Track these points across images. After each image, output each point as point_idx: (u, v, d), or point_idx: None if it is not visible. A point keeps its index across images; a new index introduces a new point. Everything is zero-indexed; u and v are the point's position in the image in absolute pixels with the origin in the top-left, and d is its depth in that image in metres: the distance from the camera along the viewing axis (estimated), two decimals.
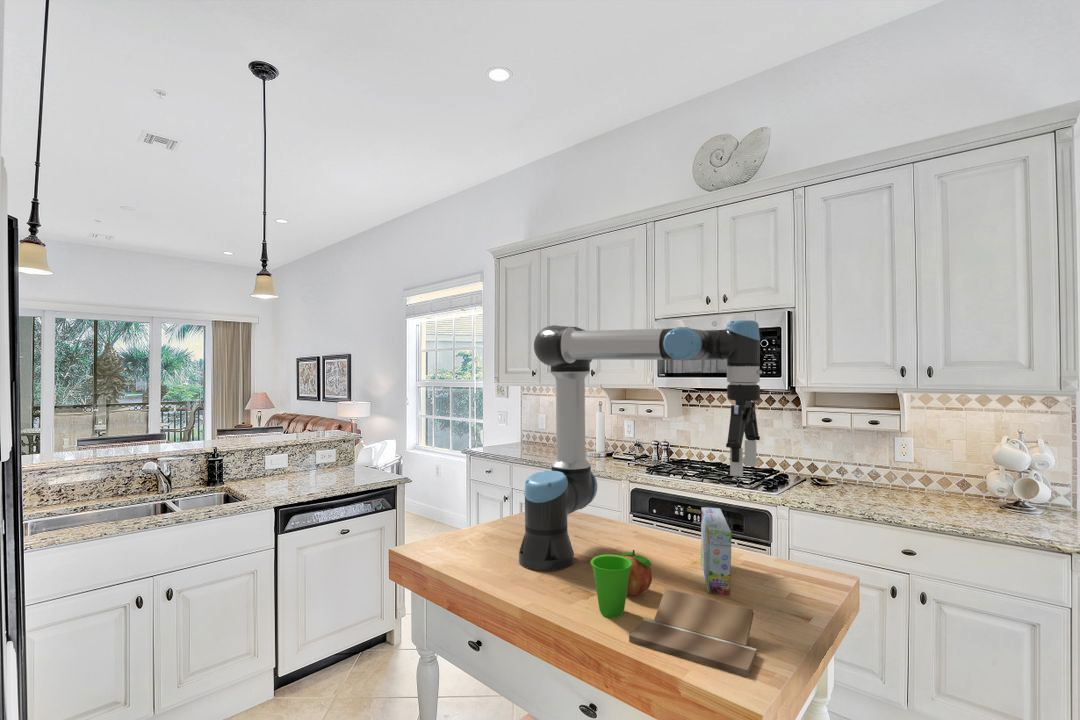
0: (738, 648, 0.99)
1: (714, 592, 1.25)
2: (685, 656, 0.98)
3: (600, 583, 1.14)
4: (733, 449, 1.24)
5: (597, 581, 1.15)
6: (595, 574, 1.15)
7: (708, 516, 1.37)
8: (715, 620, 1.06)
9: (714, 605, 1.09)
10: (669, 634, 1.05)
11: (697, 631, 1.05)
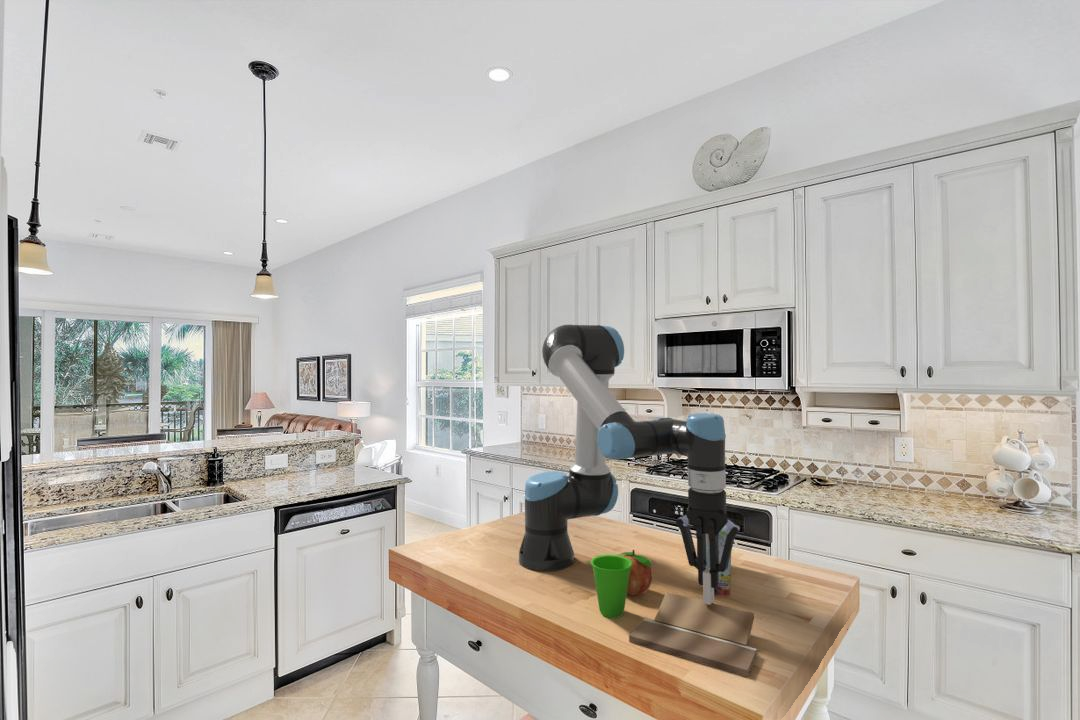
0: (738, 648, 0.99)
1: (714, 592, 1.25)
2: (685, 656, 0.98)
3: (600, 583, 1.14)
4: None
5: (597, 581, 1.15)
6: (595, 574, 1.15)
7: None
8: (716, 622, 1.07)
9: (715, 608, 1.10)
10: (669, 634, 1.05)
11: (697, 631, 1.05)
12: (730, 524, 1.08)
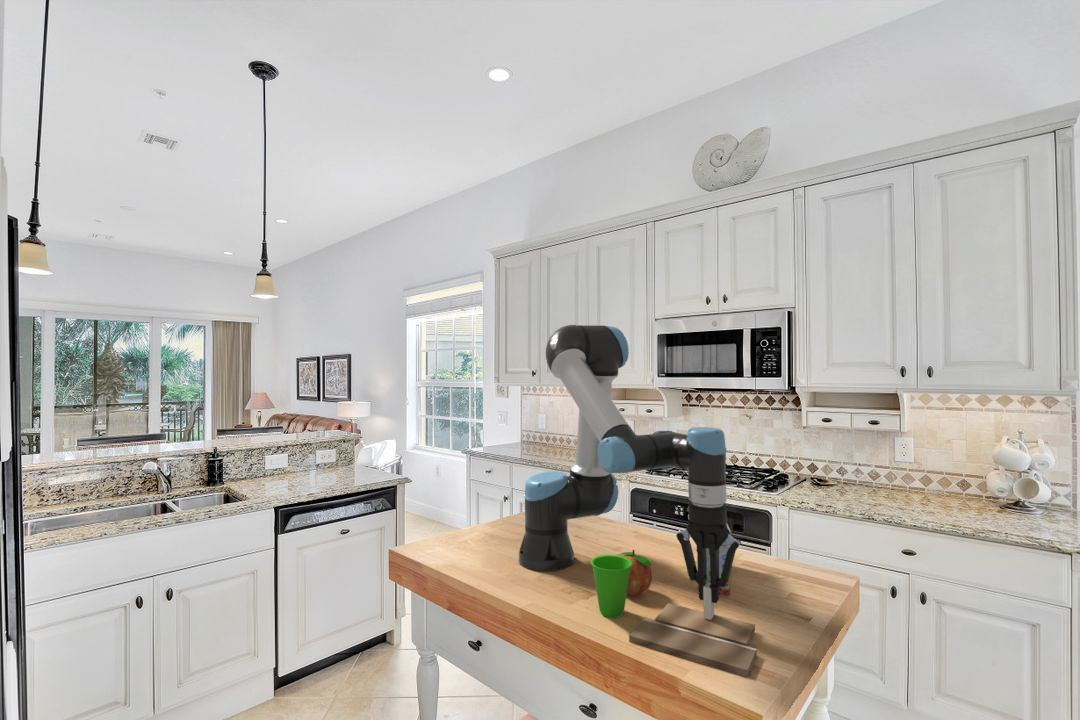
0: (738, 648, 0.99)
1: None
2: (685, 656, 0.98)
3: (600, 583, 1.14)
4: None
5: (597, 581, 1.15)
6: (595, 574, 1.15)
7: None
8: (717, 626, 1.07)
9: (716, 617, 1.10)
10: (669, 634, 1.05)
11: (698, 630, 1.06)
12: (731, 539, 1.08)
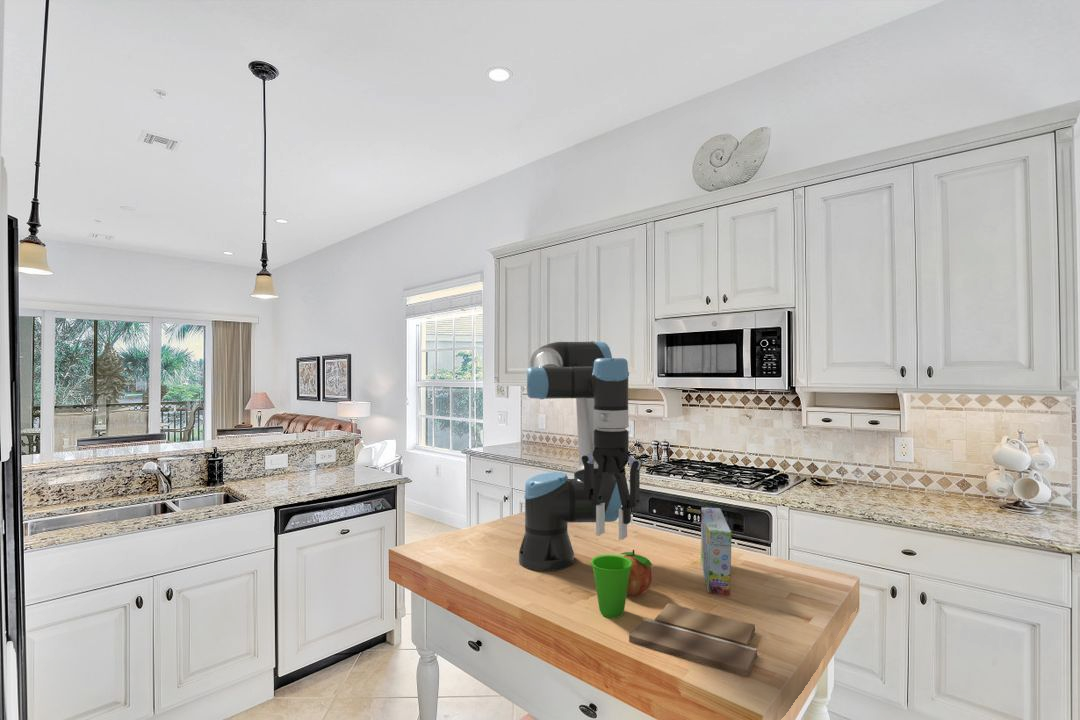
0: (738, 648, 0.99)
1: (714, 592, 1.25)
2: (685, 656, 0.98)
3: (600, 583, 1.14)
4: None
5: (597, 581, 1.15)
6: (595, 574, 1.15)
7: (708, 516, 1.37)
8: (717, 626, 1.07)
9: (716, 618, 1.10)
10: (669, 634, 1.05)
11: (698, 630, 1.06)
12: (631, 459, 1.13)
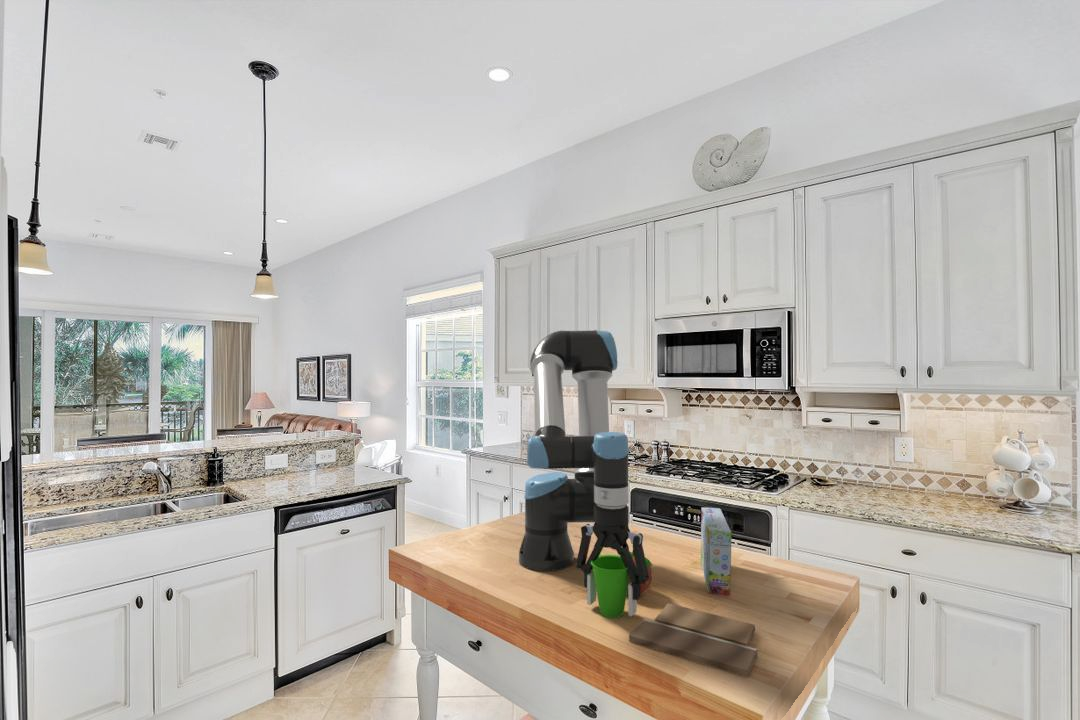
0: (738, 648, 0.99)
1: (714, 592, 1.25)
2: (685, 656, 0.98)
3: (600, 583, 1.14)
4: None
5: (597, 581, 1.15)
6: (595, 574, 1.15)
7: (708, 516, 1.37)
8: (717, 626, 1.07)
9: (716, 618, 1.10)
10: (669, 634, 1.05)
11: (698, 630, 1.06)
12: (631, 535, 1.13)
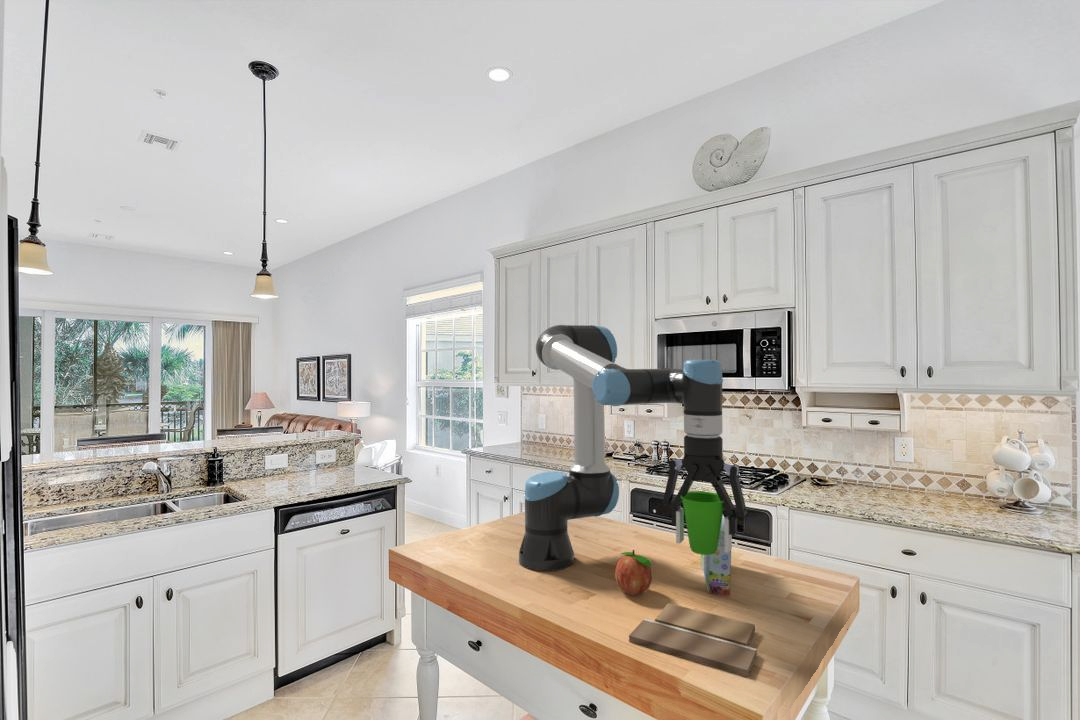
0: (738, 648, 0.99)
1: (714, 592, 1.25)
2: (685, 656, 0.98)
3: (693, 518, 1.06)
4: None
5: (689, 516, 1.07)
6: (687, 509, 1.07)
7: None
8: (717, 626, 1.07)
9: (716, 618, 1.10)
10: (669, 634, 1.05)
11: (698, 630, 1.06)
12: (727, 466, 1.06)
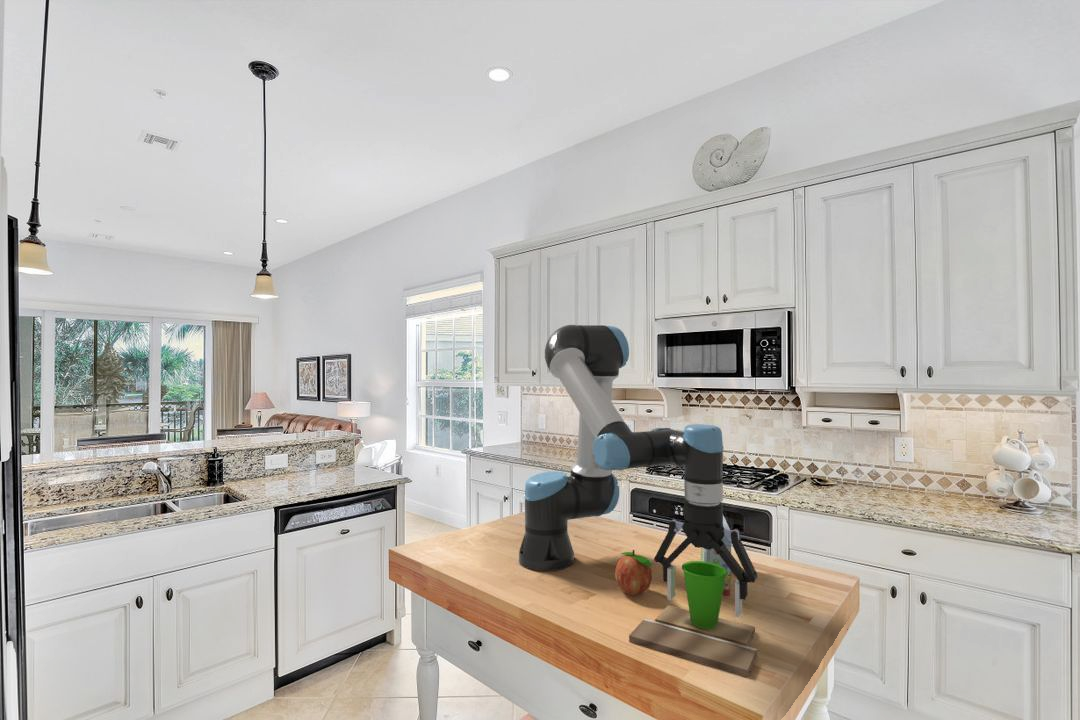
0: (738, 648, 0.99)
1: None
2: (685, 656, 0.98)
3: (694, 591, 1.07)
4: None
5: (690, 588, 1.07)
6: (688, 581, 1.08)
7: None
8: (717, 627, 1.07)
9: None
10: (669, 634, 1.05)
11: (698, 630, 1.06)
12: (727, 532, 1.06)
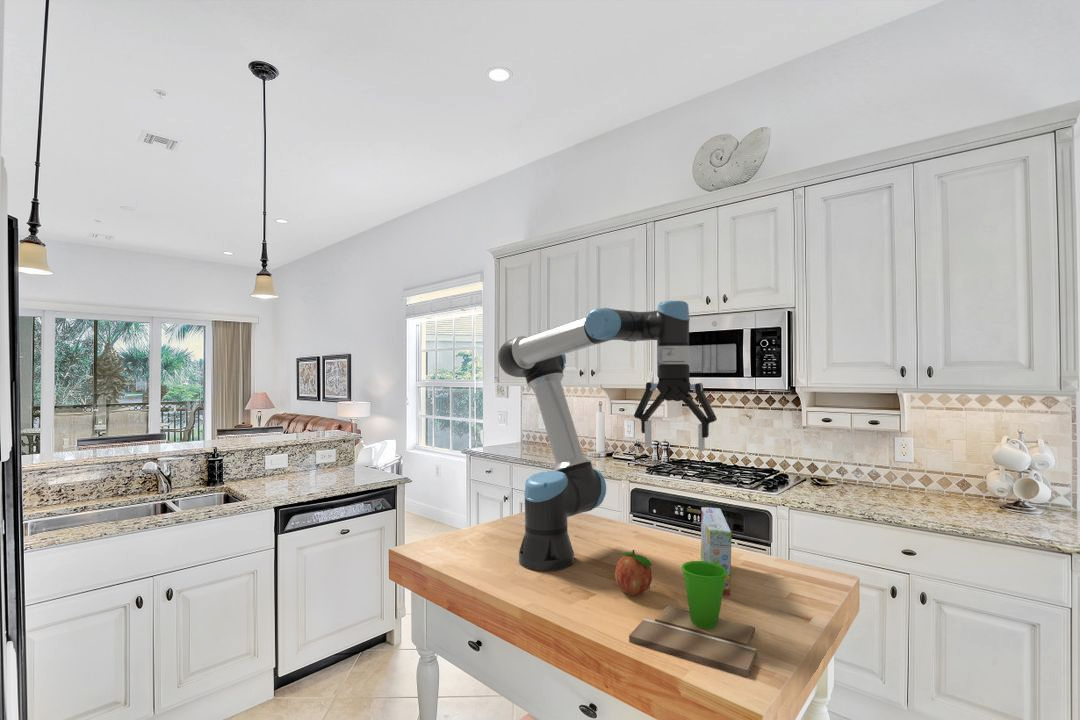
0: (738, 648, 0.99)
1: None
2: (685, 656, 0.98)
3: (694, 591, 1.07)
4: None
5: (690, 589, 1.08)
6: (688, 581, 1.08)
7: (708, 516, 1.37)
8: (717, 627, 1.07)
9: None
10: (669, 634, 1.05)
11: (698, 630, 1.06)
12: (692, 385, 1.30)
